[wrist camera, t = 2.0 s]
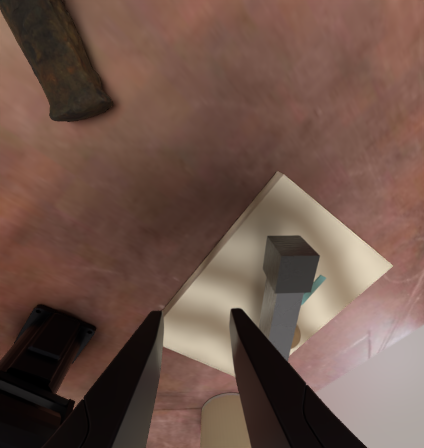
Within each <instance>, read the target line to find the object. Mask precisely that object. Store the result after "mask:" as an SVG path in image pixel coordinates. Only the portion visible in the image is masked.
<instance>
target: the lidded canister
mask: <svg viewBox="0 0 424 448" xmlns="http://www.w3.org/2000/svg"><path fill="white" fill-rule="evenodd" d="M200 448H251V444H250V439H249V435H248V431H247V426H246V422H245V417H244V413H243V408H242V404H241V400H240V395H239V393H224V394H220V395H217V396H214V397H212V398H211V399H209V400H208V401H207V402H206V403H205V404H204V406H203V408H202V414H201V442H200Z"/></svg>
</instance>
